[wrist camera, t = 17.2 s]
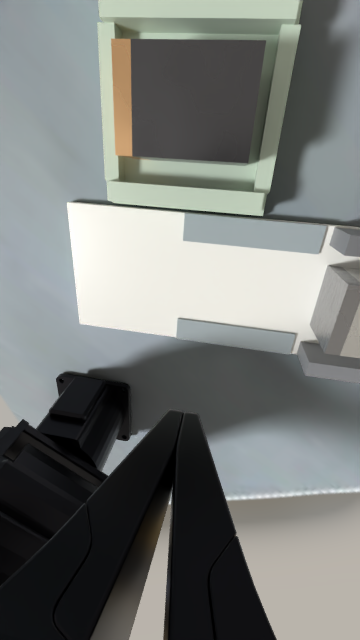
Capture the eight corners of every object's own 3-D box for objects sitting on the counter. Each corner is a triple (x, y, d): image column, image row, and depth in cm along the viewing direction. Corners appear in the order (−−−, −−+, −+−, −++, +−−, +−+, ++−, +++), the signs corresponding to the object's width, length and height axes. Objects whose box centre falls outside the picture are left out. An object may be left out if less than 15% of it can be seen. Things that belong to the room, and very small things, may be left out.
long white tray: (415, 366, 20) (445, 397, 17) (83, 320, 22) (62, 340, 20) (484, 238, 16) (537, 251, 13) (71, 201, 18) (43, 205, 16)
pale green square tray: (261, 214, 17) (265, 219, 15) (116, 202, 18) (102, 205, 16) (301, 3, 13) (312, -26, 11) (109, 3, 14) (90, -24, 12)
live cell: (245, 165, 16) (248, 163, 12) (137, 159, 16) (115, 155, 13) (258, 70, 14) (266, 40, 11) (137, 68, 14) (110, 38, 11)
